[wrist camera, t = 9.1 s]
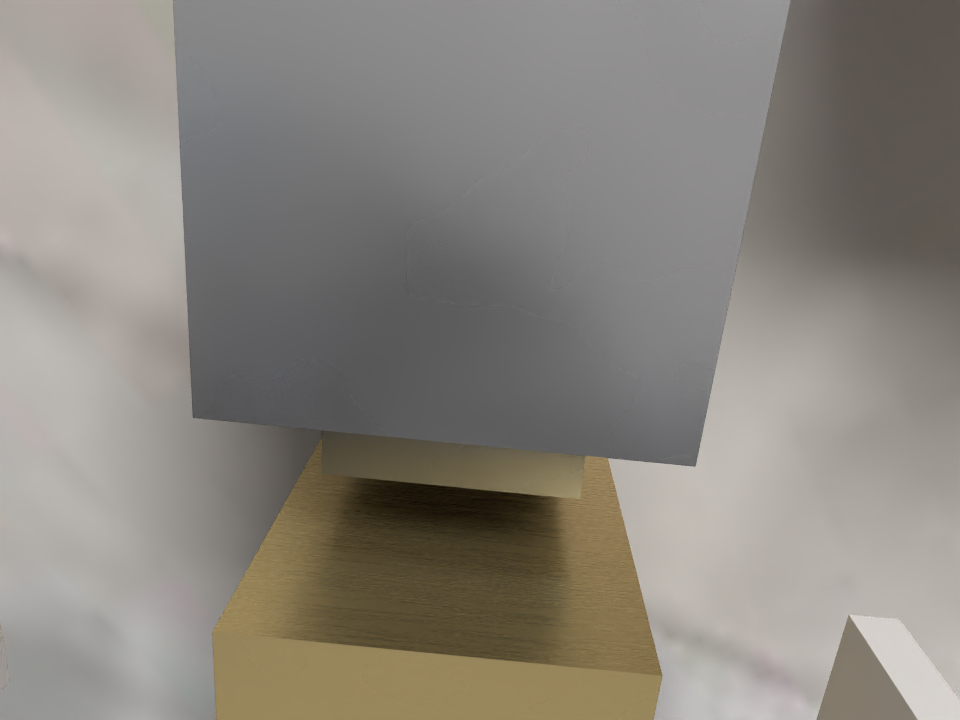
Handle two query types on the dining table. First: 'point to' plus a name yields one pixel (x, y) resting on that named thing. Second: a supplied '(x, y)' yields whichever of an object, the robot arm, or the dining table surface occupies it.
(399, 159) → the plain grey cube
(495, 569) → the unfinished wooden cube
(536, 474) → the rack rail
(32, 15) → the dining table surface
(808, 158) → the dining table surface
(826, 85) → the dining table surface
